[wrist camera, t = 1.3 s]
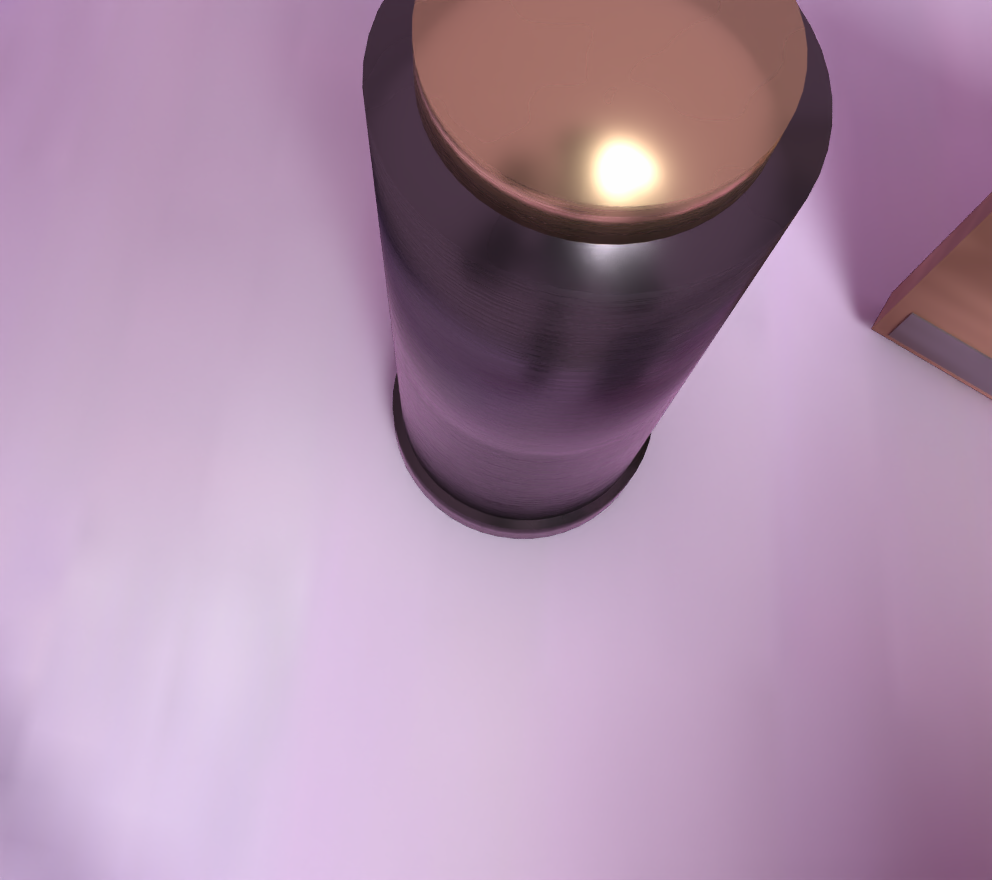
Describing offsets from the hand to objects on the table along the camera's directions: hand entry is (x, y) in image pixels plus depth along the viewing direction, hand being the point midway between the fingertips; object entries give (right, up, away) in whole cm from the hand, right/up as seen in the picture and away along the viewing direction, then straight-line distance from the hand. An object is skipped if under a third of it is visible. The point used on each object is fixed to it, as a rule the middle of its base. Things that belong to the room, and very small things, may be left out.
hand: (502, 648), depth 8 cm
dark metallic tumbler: (+1, +2, +15) cm, 15 cm away
